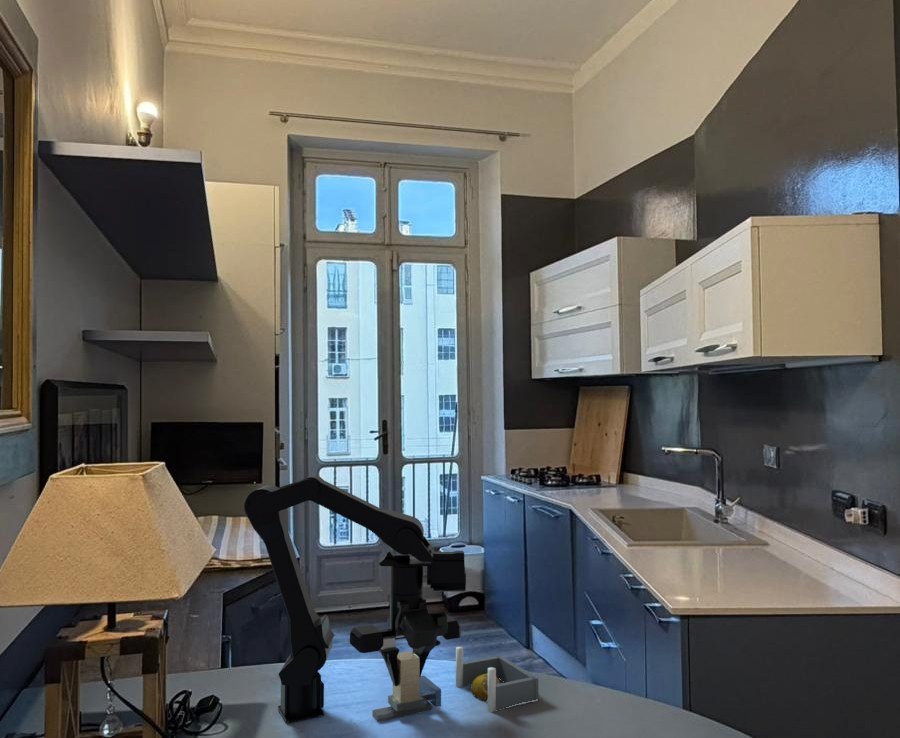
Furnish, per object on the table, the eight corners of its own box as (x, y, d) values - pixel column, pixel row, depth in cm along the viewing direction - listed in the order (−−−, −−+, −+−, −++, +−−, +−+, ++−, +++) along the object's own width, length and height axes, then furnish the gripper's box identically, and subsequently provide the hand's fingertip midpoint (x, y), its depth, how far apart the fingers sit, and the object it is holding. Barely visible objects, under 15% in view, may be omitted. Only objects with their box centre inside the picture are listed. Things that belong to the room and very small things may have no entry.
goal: (490, 712, 120) (490, 670, 120) (454, 685, 132) (454, 647, 132) (539, 701, 125) (538, 661, 125) (500, 676, 136) (500, 639, 137)
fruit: (498, 711, 121) (497, 690, 121) (460, 699, 127) (460, 678, 127) (524, 696, 128) (524, 675, 128) (487, 685, 133) (487, 665, 133)
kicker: (400, 715, 116) (400, 664, 116) (384, 699, 122) (385, 651, 123) (441, 706, 119) (441, 657, 120) (423, 691, 126) (423, 645, 126)
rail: (377, 721, 117) (377, 715, 117) (372, 716, 119) (372, 710, 119) (431, 710, 121) (431, 704, 121) (426, 704, 123) (426, 699, 123)
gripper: (372, 609, 110) (371, 712, 109) (476, 596, 118) (476, 690, 118) (349, 593, 120) (348, 686, 119) (446, 581, 128) (446, 668, 127)
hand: (405, 683), depth 120 cm, fingers closed on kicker, 3 cm apart
